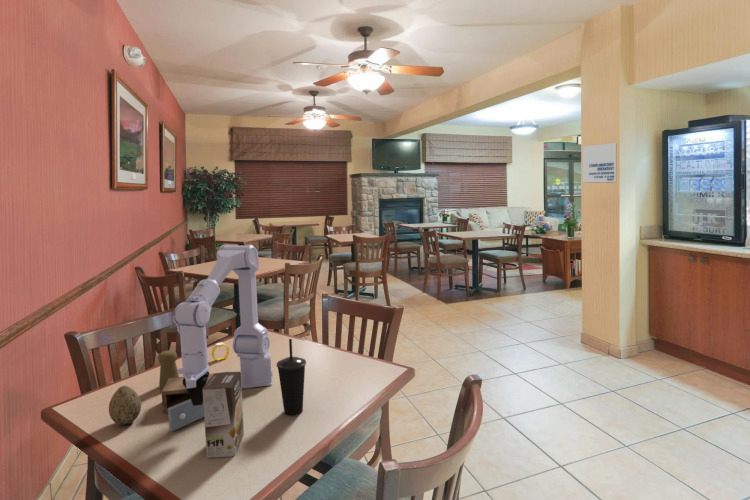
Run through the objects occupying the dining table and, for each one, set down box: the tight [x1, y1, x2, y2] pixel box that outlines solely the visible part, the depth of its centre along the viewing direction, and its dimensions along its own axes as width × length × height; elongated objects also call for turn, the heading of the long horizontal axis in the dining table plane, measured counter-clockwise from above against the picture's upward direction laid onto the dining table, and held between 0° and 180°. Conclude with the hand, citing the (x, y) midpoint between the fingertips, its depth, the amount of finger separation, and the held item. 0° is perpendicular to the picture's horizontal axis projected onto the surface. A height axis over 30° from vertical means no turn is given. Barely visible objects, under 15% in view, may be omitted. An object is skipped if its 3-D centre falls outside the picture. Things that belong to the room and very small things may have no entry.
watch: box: [211, 342, 230, 362], centre depth 152 cm, size 6×3×6 cm, turn 131°
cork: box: [157, 349, 180, 391], centre depth 130 cm, size 6×6×11 cm
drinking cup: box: [276, 338, 307, 417], centre depth 112 cm, size 8×8×20 cm
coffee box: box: [202, 371, 245, 459], centre depth 97 cm, size 9×6×16 cm
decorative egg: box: [108, 385, 142, 426], centre depth 109 cm, size 7×7×10 cm
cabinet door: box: [167, 399, 204, 432], centre depth 110 cm, size 17×3×6 cm, turn 144°
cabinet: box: [161, 371, 224, 414], centre depth 120 cm, size 16×9×6 cm, turn 104°
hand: (198, 404), depth 104 cm, fingers closed
